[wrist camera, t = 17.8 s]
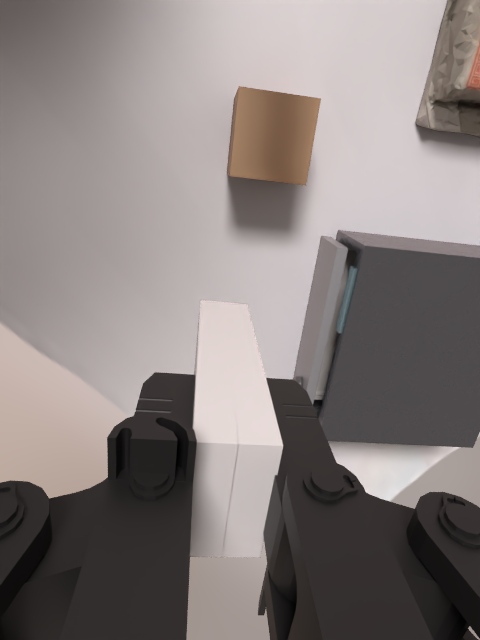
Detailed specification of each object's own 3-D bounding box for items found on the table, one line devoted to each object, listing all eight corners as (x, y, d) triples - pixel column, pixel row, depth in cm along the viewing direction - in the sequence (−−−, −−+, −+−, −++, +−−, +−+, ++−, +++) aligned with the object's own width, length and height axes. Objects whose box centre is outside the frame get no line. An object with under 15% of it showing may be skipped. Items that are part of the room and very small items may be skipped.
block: (226, 173, 29) (229, 176, 25) (234, 98, 27) (238, 86, 23) (291, 181, 30) (305, 185, 25) (302, 108, 28) (320, 98, 23)
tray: (285, 392, 37) (294, 421, 33) (315, 235, 32) (330, 246, 28) (424, 401, 39) (448, 429, 35) (476, 252, 33) (513, 266, 29)
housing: (299, 398, 38) (315, 440, 32) (335, 229, 32) (361, 245, 26) (436, 406, 39) (472, 447, 34) (495, 247, 33) (552, 265, 28)
